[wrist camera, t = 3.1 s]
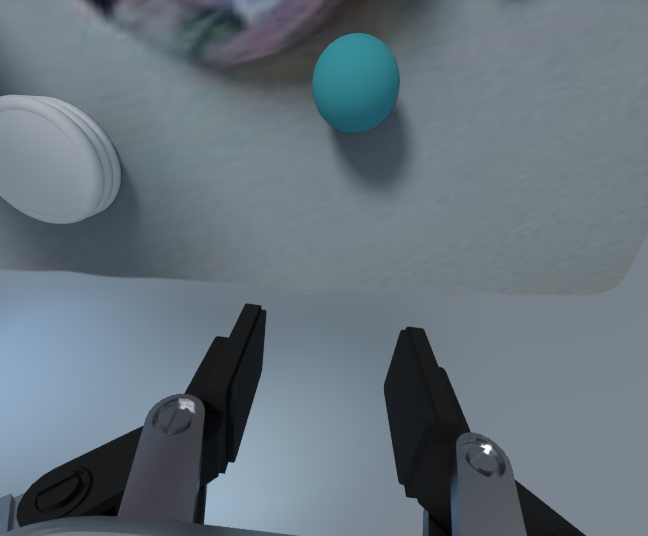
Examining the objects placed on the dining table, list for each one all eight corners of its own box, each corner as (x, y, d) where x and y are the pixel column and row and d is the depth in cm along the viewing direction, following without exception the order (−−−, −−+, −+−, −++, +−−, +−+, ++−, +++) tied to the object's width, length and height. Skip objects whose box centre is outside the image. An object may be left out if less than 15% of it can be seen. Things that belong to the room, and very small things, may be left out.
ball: (349, 147, 27) (352, 156, 21) (299, 86, 25) (288, 80, 20) (408, 91, 25) (427, 85, 19) (358, 21, 23) (364, -6, 18)
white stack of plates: (140, 145, 28) (114, 150, 25) (104, 233, 32) (78, 247, 28) (21, 68, 26) (-23, 62, 22) (-2, 173, 29) (-43, 180, 26)
